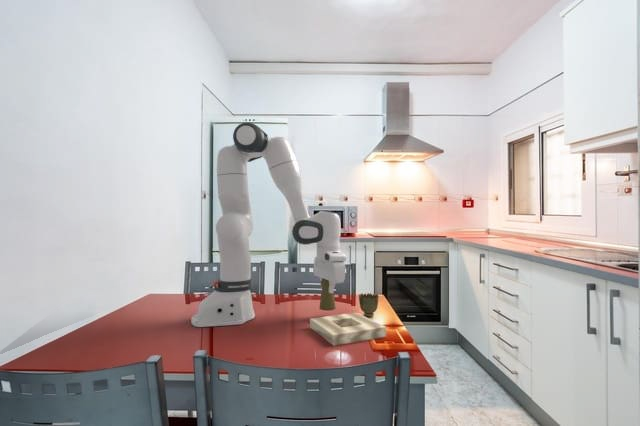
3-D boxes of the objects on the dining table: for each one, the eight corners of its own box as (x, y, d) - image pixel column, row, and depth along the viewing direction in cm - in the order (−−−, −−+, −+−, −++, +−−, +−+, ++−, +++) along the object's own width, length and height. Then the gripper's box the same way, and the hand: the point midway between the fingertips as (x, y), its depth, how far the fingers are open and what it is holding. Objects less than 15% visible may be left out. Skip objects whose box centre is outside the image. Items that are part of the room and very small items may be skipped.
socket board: (333, 345, 96) (333, 335, 96) (310, 327, 112) (310, 318, 113) (385, 336, 103) (385, 327, 103) (356, 320, 120) (356, 312, 120)
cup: (378, 319, 121) (378, 297, 121) (358, 318, 122) (357, 296, 123) (379, 314, 128) (378, 293, 128) (359, 313, 130) (359, 292, 130)
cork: (324, 311, 120) (324, 280, 120) (316, 307, 126) (316, 278, 126) (338, 309, 123) (338, 279, 124) (330, 305, 129) (330, 276, 129)
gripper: (310, 251, 133) (309, 286, 133) (332, 257, 114) (331, 297, 114) (324, 251, 136) (323, 285, 135) (348, 256, 117) (347, 296, 117)
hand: (327, 291), depth 124 cm, fingers closed on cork, 4 cm apart
